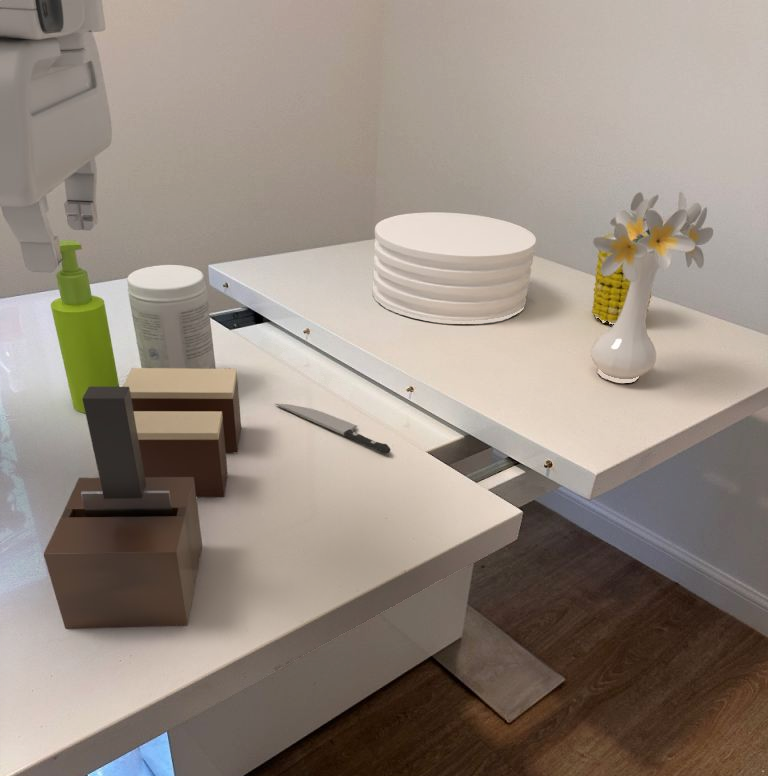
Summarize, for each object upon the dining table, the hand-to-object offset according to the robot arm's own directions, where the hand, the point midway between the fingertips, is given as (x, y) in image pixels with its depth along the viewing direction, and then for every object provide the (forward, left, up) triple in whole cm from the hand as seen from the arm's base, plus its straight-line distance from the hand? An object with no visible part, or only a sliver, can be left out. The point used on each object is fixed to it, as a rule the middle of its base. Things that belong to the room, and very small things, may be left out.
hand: (66, 246), depth 48 cm
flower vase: (+62, +44, -30) cm, 81 cm away
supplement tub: (-1, +41, -30) cm, 50 cm away
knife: (+1, 0, -30) cm, 30 cm away
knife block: (+1, 0, -30) cm, 30 cm away
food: (+70, +68, -30) cm, 101 cm away
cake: (+2, +25, -29) cm, 39 cm away
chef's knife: (+19, +29, -30) cm, 45 cm away
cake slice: (+1, +16, -30) cm, 33 cm away
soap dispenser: (-11, +35, -30) cm, 47 cm away
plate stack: (+42, +78, -30) cm, 93 cm away
